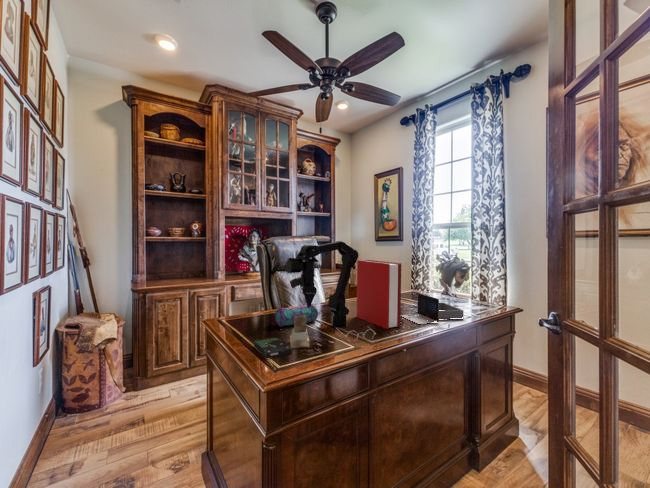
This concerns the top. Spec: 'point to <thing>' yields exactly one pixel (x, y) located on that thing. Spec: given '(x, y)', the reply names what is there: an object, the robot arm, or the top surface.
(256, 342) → the disk drive
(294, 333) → the tower top
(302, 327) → the walnut block
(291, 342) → the tower base
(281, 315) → the pencil case
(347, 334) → the eyeglasses
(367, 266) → the book
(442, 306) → the charger caddy
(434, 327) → the top surface
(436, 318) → the laptop
